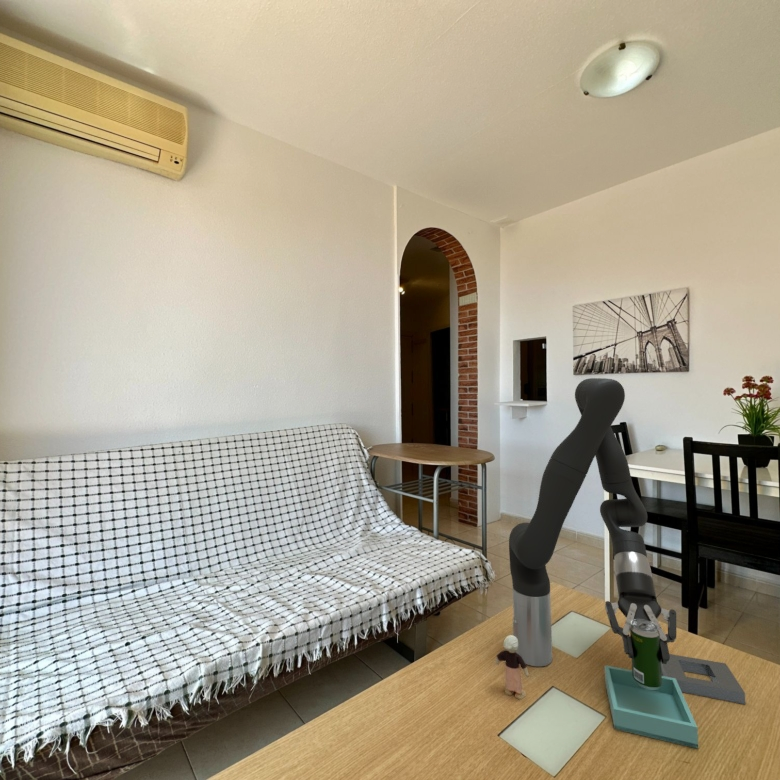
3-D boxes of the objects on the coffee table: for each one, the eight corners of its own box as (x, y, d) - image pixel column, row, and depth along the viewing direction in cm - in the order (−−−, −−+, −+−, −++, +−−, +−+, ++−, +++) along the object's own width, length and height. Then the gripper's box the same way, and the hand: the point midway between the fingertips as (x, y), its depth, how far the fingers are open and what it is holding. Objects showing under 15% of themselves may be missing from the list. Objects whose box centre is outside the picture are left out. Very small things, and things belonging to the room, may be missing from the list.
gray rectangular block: (668, 689, 93) (668, 678, 93) (657, 661, 102) (656, 651, 102) (745, 704, 88) (744, 692, 88) (726, 674, 97) (725, 663, 97)
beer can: (654, 695, 83) (651, 635, 83) (627, 680, 87) (624, 623, 87) (667, 683, 86) (664, 626, 86) (639, 669, 90) (637, 615, 90)
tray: (614, 729, 82) (613, 709, 82) (605, 682, 95) (604, 665, 96) (698, 748, 77) (697, 727, 77) (676, 696, 90) (675, 678, 91)
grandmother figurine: (531, 691, 93) (529, 635, 93) (529, 702, 90) (527, 644, 90) (497, 682, 97) (495, 628, 97) (493, 693, 93) (492, 637, 93)
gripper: (600, 566, 96) (609, 648, 85) (672, 574, 91) (692, 662, 80) (598, 579, 101) (607, 658, 90) (667, 587, 96) (685, 671, 85)
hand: (647, 659), depth 85 cm, fingers closed on beer can, 5 cm apart
